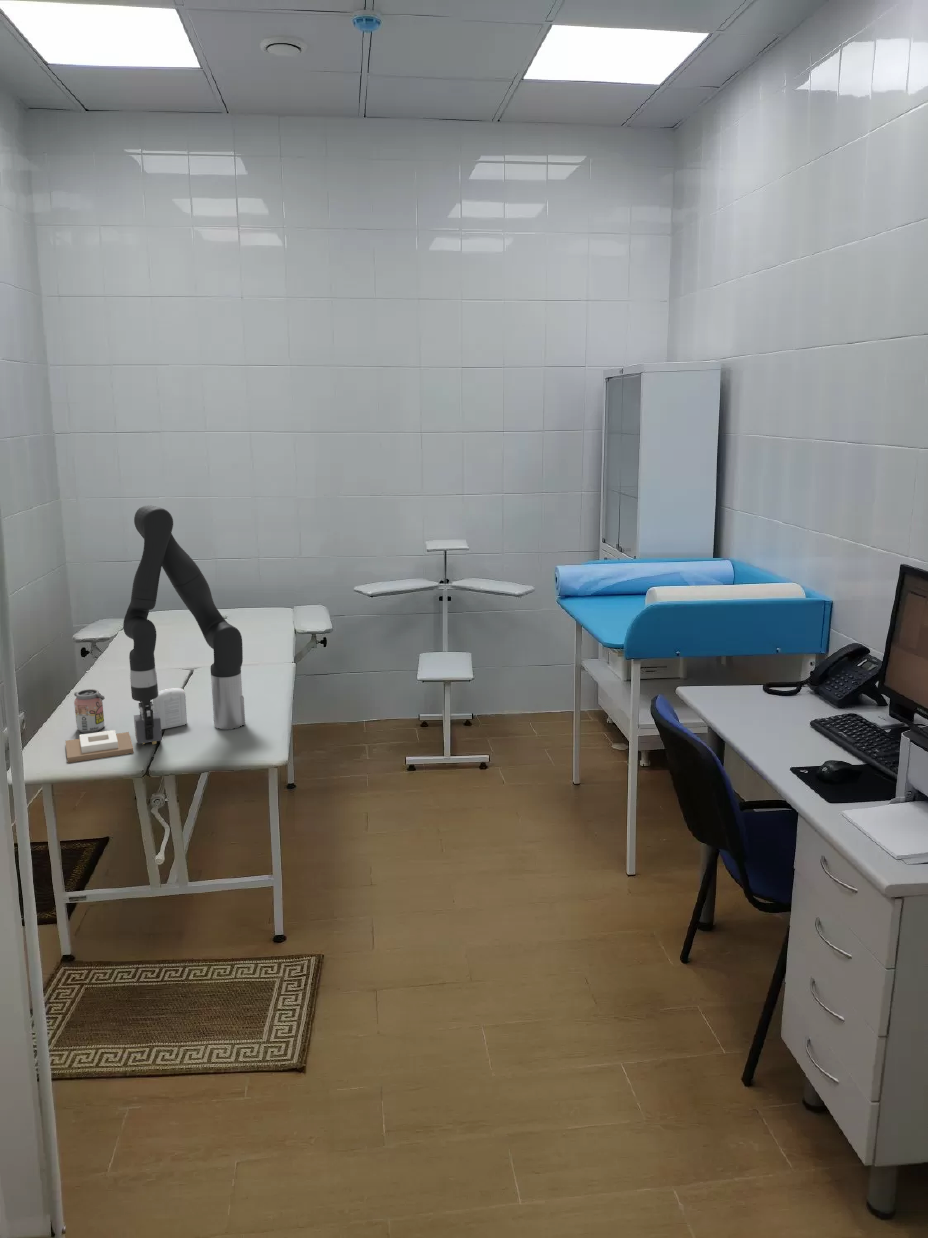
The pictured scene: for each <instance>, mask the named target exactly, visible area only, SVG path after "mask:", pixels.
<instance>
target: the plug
mask: <svg viewBox="0 0 928 1238" xmlns="http://www.w3.org/2000/svg"><path fill="white" fill-rule="evenodd" d="M153 714H154V719H153V722H154V727H153V737H154V738H153V739H151V740H146V737H145V728H144V721H143V720H142V718H141V715H140V714H136V715H135V714H133V722H134V733H135V740H136V743H137V744H138V745H140V744H142V743H143V744H146V743H150V742H151V743H152V744H151V745H156V744H157V743H158V742H159V741H160V742H161V741H163V735H162V729H161V721H160V716H159V714H158V712H156V713H153ZM143 717H144V716H143ZM147 724H151V721H149V722H147ZM143 744H142V745H143Z"/></svg>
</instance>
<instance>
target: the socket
mask: <svg viewBox="0 0 928 1238" xmlns="http://www.w3.org/2000/svg"><path fill="white" fill-rule="evenodd" d="M130 735H131V734H130V732H129V731H126V732H119V733H116V730H115V729H111V730H104V731H99V732H98V731H96V732H91V733H83V734H79V738H75V739H69V740H65V750H66V759H67V763H68V764H69V763H75V762H81V761H88V760H97V759H102V758H103V759H104V758H110V757H117V756H123V755H129V754H128V753H131V754H134V747H133V743H132V740H131V736H130Z"/></svg>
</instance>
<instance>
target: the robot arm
mask: <svg viewBox="0 0 928 1238" xmlns="http://www.w3.org/2000/svg"><path fill="white" fill-rule="evenodd" d="M133 518H134V519H133V523H134V526H135V529H136V530H137V532H138V533H139V534H140V536H141V537H142V538H143V550H142V555H141V559H140V561H139V564H138V567H137V569H136V571H135V574H134V578H133V582H132V589H131V596H130V603H129V605H128V607H127V610H126V613H125V615H124V619H123V624H122V625H123V627H122V628H123V632H124V634H125V636H126V637H128V638H130V639H131V640H133V648H132V649H131V650H130V651H129V655H128V656H129V657H128V659H129V668H130V673H129V681H130V691H131V692H130V693H131V699H132V700H133V701H136V702H138V705H137V706H138V709H139V715H141V718H142V720H143V721H144V728H145V737H146V740H151V739H153V738H154V737H153V727H154V722H153V719H154V714H153V709H154V706H153V699H155V698H157V697H158V692H159V685H158V675H157V670H156V669H157V668H156V661H155V660H156V659H155V650H156V644H157V629H156V625H155V624H154V623H153V622H152V621H151V620H149V619H148V617H149V614H150V611H151V610H153V609H154V608H155V607H156V603H157V598H158V593H159V592H158V591H159V585H160V584H159V583H160V577H161V572H162V570H163V571H164V573H165V575H166V577H167V578H168V580H169V581H170V584H171V585H172V587H173V588H174V590H175V591H176V593H177V595H178V596H179V597H180V599H181V601H182V602H183V604H184V606H186V608H187V609H188V610H189V612H190V613H191V614H192V616H193V618H194V619H195V621H196V622H197V625H198V627H199V629H200V631H201V633H202V635H203V638H204V640H205V642H206V644H207V645H208V646H209V647H210V648H211V649H212V650H213V663H212V664H211V665H210V680H211V683H210V684H211V698H212V699H211V700H212V713H213V715H212V716H213V725H214V727H215V728H216V729H218V728H221V729H220V730H232V729H231V728H235V729H238V728H240V726H241V727H243V726H242V725H244V726H246V712H245V711H246V710H245V697H244V695H243V685H242V684H243V681H242V666H243V659H244V658H243V657H244V656H243V652H244V651H243V648H244V647H243V637H242V634H241V632H240V630H239V629H238V628H237V627H235V626H234V625H232V624H231V623H229V622H228V621H227V620H226V619H225V618H224V617H223V615H222V614H221V612H220V611H219V610H218V607H217V606H216V604H215V602H214V598H213V596H212V591H211V588H210V585H209V584H208V581H207V579H206V577H205V576H204V574H203V573H202V571H201V569H200V567H199V566H198V565H197V563H196V562H195V561H194V560H193V558H192V557H190V555H189V554H188V553H187V552H186V550H184V549H183V548H182V546H180V544H179V543H178V542H177V541H176V539H175V537H174V535H173V532H172V531H173V529H174V519H173V516H172V515H171V513H170V512H169V511H168V510H167V509H165V508H162V507H159V506H154V505H143V506H140V507H139V508H138V509H137V510H136V512H135V513H134V516H133ZM143 716H144V717H143ZM149 721H151V724H147V722H149Z"/></svg>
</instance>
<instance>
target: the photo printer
mask: <svg viewBox="0 0 928 1238" xmlns="http://www.w3.org/2000/svg"><path fill="white" fill-rule="evenodd" d="M186 697H187V696H186V692H185V690H184V689H183V688H180V687H170V688H166V689H162V690H158V697H157V698H155V699H152V704H153V706H154V709H153V713H156V712H158V714H159V716H160V721H161V730H165V729H171V728H176V727H180V726H186V725H187V724H188V715H187V713H188V712H187V699H186ZM185 724H186V725H185Z"/></svg>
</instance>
